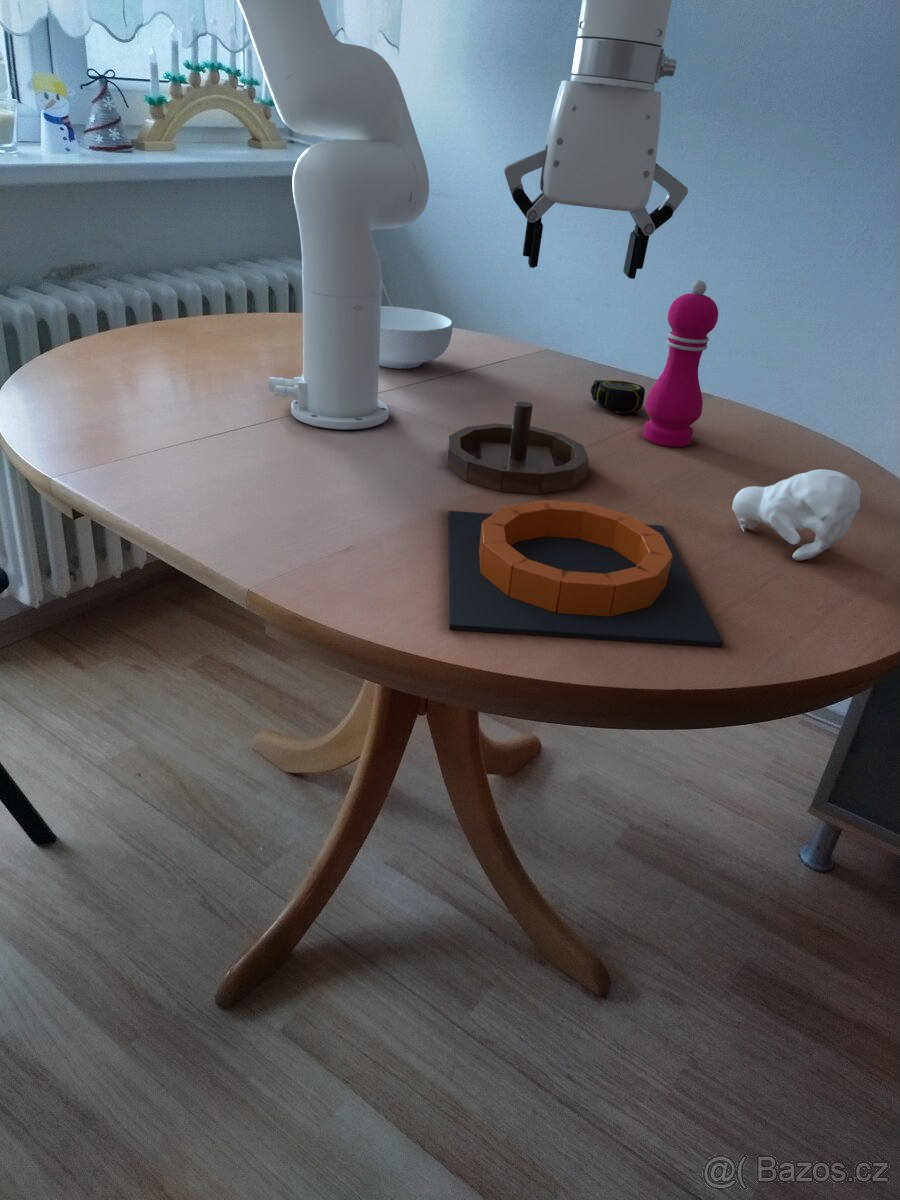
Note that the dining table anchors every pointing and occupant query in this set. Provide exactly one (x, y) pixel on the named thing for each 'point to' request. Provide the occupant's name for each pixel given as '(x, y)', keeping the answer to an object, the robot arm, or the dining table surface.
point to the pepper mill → (681, 370)
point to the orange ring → (568, 587)
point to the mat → (493, 611)
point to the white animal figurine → (802, 508)
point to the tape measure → (618, 395)
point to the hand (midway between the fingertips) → (580, 270)
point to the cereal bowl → (412, 336)
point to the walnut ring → (510, 476)
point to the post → (518, 445)
